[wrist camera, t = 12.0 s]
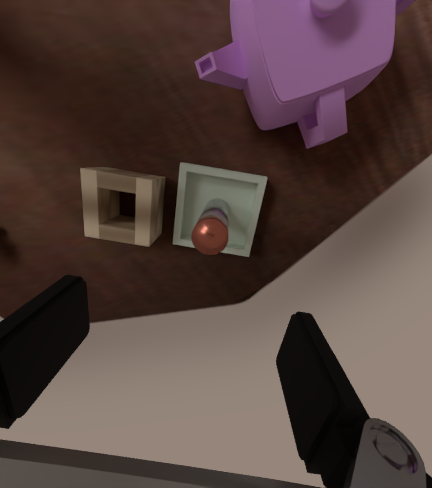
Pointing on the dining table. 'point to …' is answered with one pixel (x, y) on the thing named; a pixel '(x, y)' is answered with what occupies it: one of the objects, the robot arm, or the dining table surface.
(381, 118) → the dining table surface
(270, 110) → the teakettle
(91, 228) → the socket block
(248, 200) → the tray
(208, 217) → the metal peg
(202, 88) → the dining table surface
